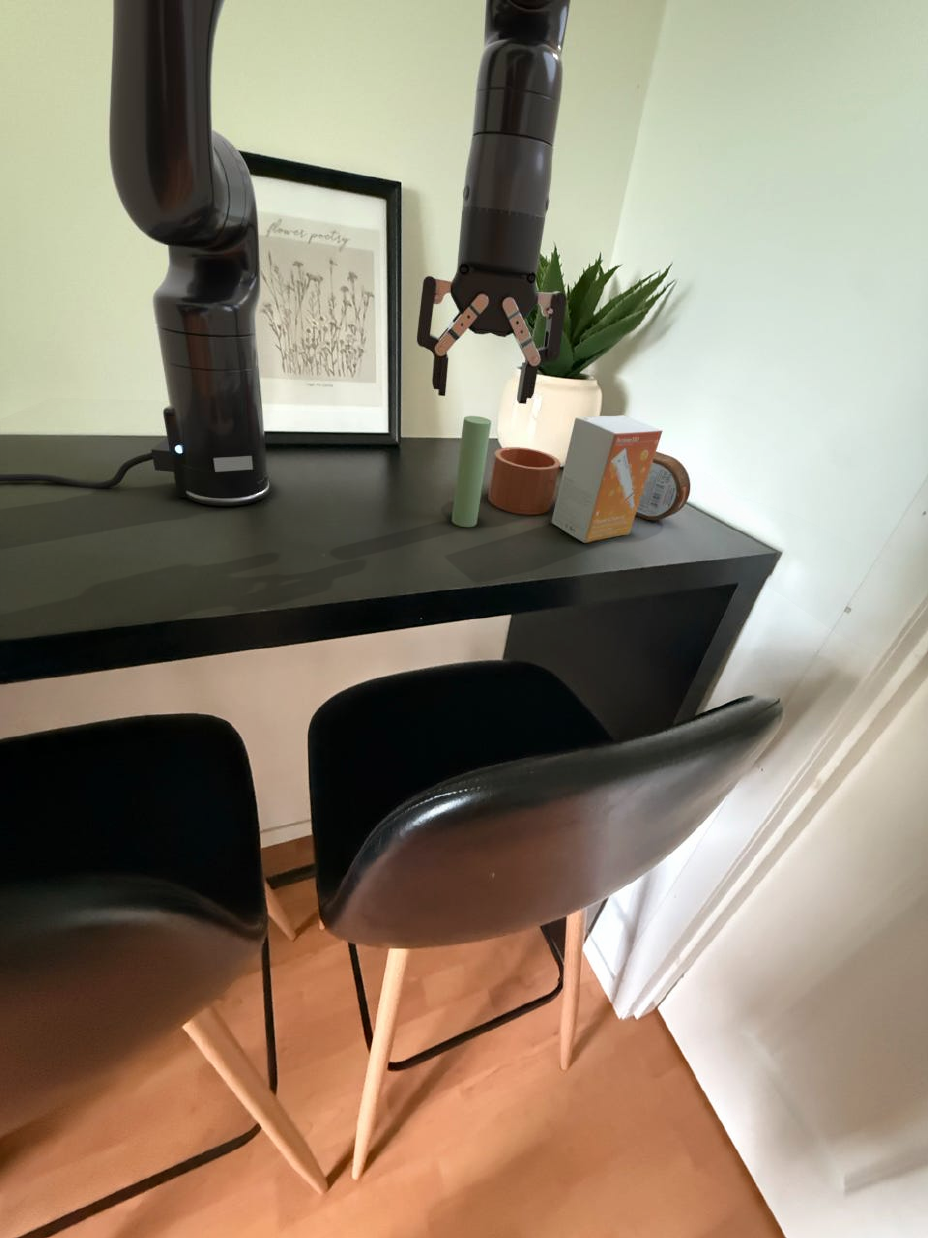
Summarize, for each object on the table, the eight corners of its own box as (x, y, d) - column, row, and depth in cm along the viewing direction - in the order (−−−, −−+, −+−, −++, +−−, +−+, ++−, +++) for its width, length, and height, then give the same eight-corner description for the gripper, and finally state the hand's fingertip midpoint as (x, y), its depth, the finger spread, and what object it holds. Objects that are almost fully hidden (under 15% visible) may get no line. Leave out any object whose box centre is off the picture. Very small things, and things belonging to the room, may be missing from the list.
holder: (491, 511, 70) (499, 465, 67) (485, 487, 77) (491, 444, 73) (556, 517, 71) (566, 471, 68) (543, 492, 78) (552, 450, 74)
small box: (584, 545, 65) (614, 433, 58) (549, 523, 69) (573, 415, 62) (631, 535, 69) (664, 429, 62) (595, 514, 73) (623, 413, 66)
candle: (452, 526, 65) (464, 421, 58) (451, 515, 67) (462, 414, 61) (477, 528, 65) (492, 424, 59) (475, 517, 68) (489, 417, 61)
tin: (679, 525, 74) (701, 463, 69) (668, 531, 72) (691, 468, 67) (584, 488, 81) (599, 430, 77) (572, 492, 79) (587, 433, 75)
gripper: (571, 220, 53) (540, 396, 62) (424, 199, 52) (414, 383, 61) (592, 217, 47) (554, 413, 56) (425, 193, 45) (413, 399, 54)
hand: (481, 398), depth 58 cm, fingers open, 8 cm apart
